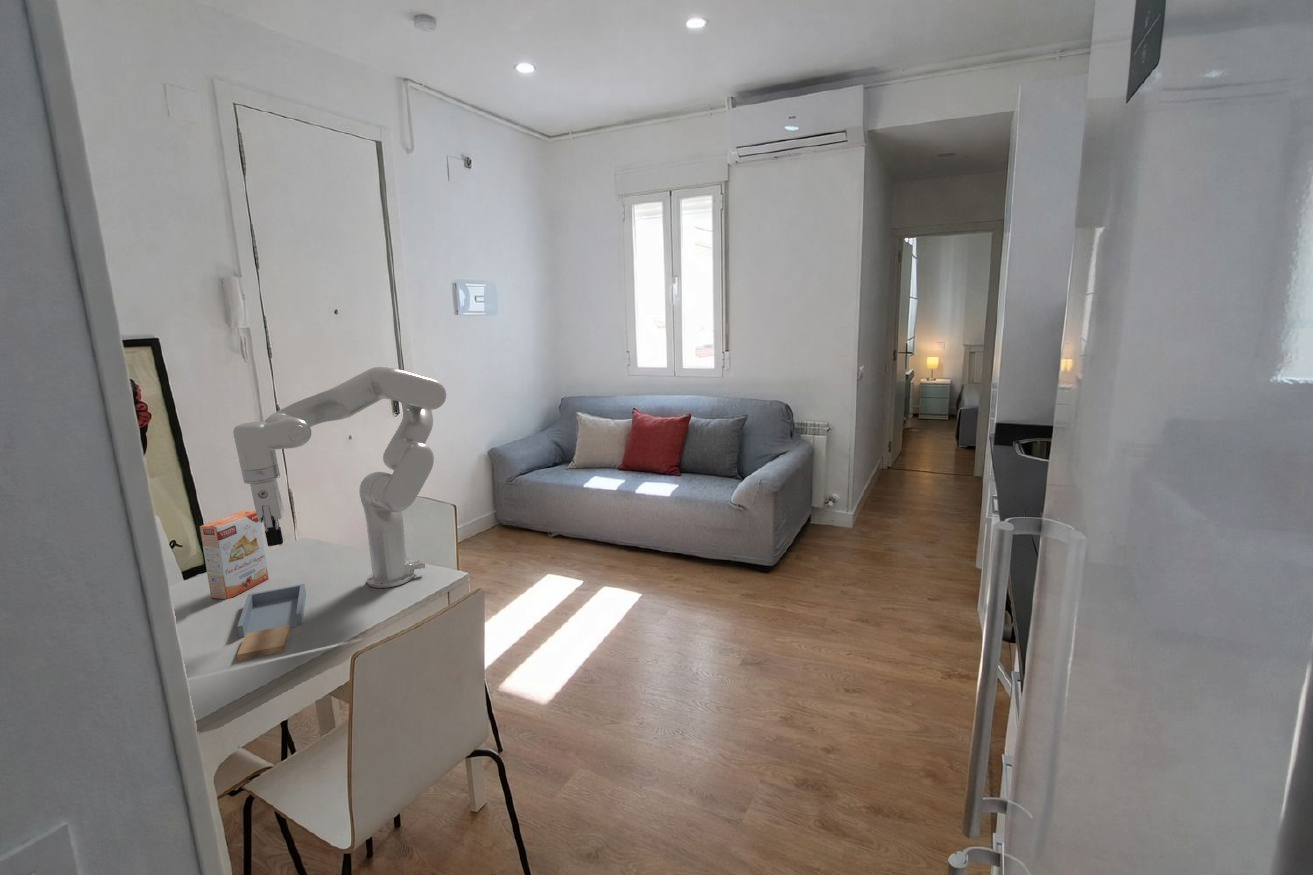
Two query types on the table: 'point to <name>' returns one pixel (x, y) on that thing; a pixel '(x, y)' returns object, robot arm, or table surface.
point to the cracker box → (234, 554)
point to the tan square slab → (264, 642)
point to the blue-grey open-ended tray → (273, 609)
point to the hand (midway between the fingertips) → (275, 544)
